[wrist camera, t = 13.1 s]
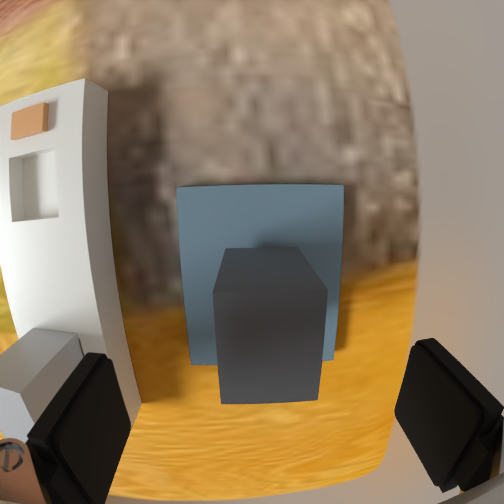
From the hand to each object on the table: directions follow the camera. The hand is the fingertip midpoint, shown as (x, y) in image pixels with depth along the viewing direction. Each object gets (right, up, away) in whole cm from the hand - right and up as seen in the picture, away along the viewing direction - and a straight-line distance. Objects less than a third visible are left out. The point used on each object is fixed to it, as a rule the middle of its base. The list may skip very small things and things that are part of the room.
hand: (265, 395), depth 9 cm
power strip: (-14, +3, +11) cm, 18 cm away
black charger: (0, +2, +11) cm, 11 cm away
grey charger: (-14, -3, +11) cm, 18 cm away
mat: (0, +2, +12) cm, 12 cm away
